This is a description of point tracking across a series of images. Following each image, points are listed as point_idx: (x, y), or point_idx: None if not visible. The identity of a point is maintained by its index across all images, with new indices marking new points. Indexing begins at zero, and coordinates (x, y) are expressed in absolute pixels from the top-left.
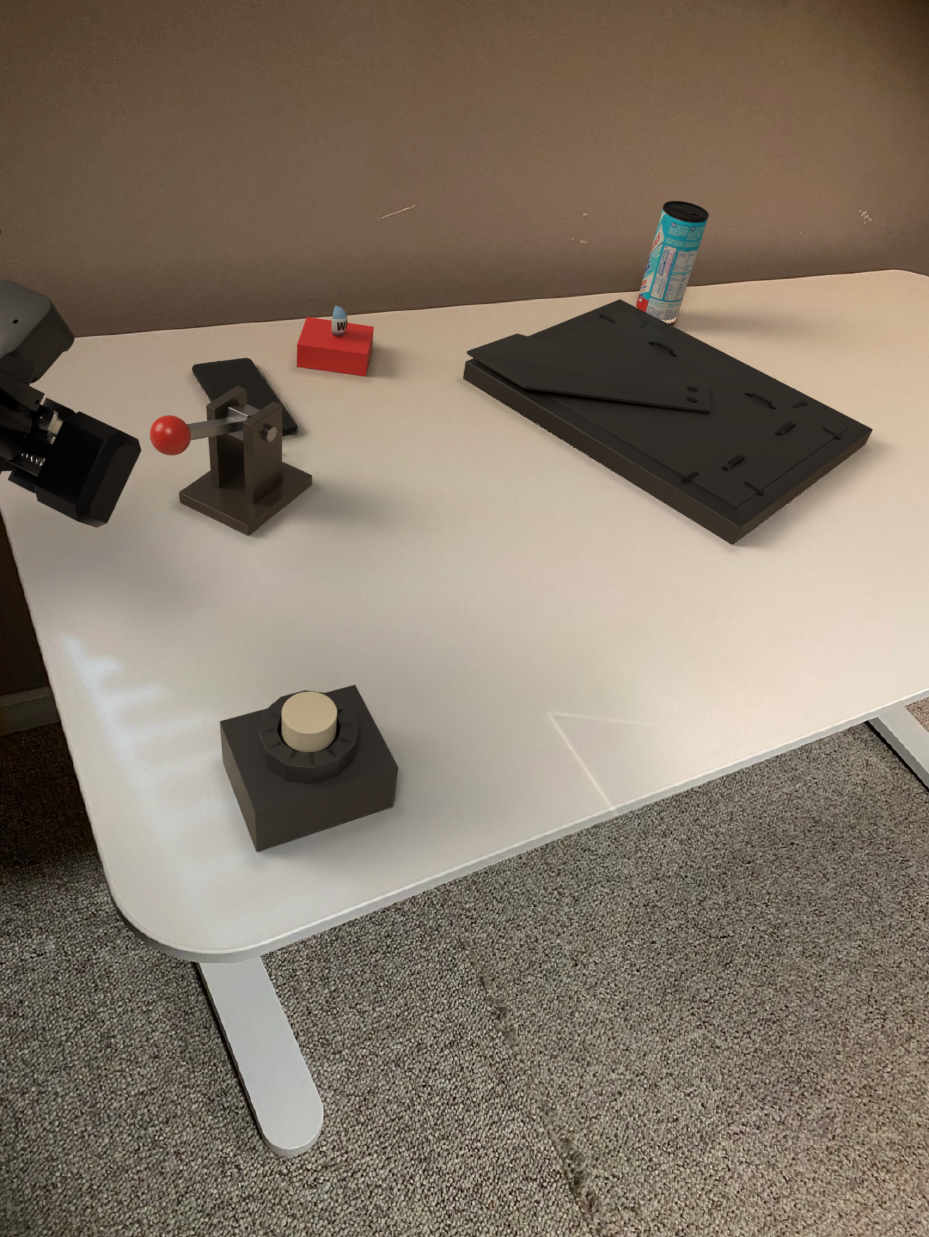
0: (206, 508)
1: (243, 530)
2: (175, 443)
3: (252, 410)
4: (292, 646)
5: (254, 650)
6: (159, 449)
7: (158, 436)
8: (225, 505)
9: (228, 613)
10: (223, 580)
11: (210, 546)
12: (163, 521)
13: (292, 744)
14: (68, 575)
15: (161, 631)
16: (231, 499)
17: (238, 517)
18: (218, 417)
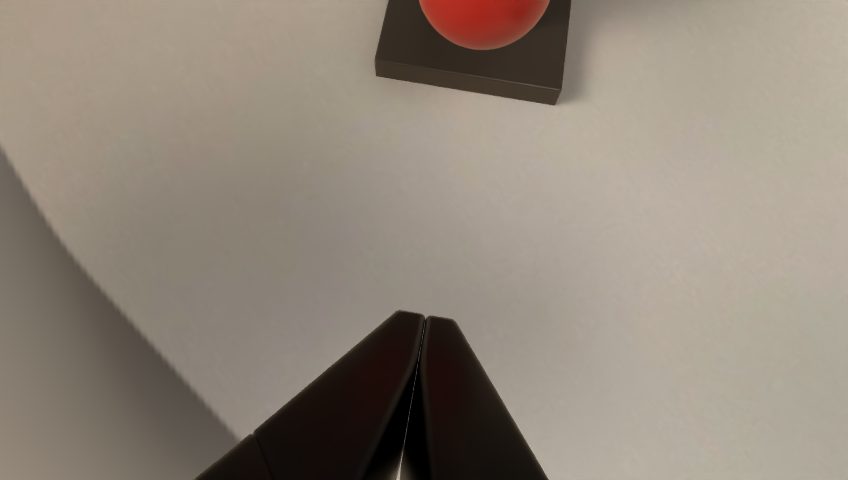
0: (449, 76)
1: (544, 99)
2: (539, 8)
3: None
4: (824, 352)
5: (768, 399)
6: (479, 45)
7: (486, 7)
8: (484, 55)
9: (656, 324)
10: (588, 240)
11: (505, 163)
12: (378, 138)
13: None
14: (292, 372)
15: (570, 438)
16: None
17: (528, 76)
18: None
